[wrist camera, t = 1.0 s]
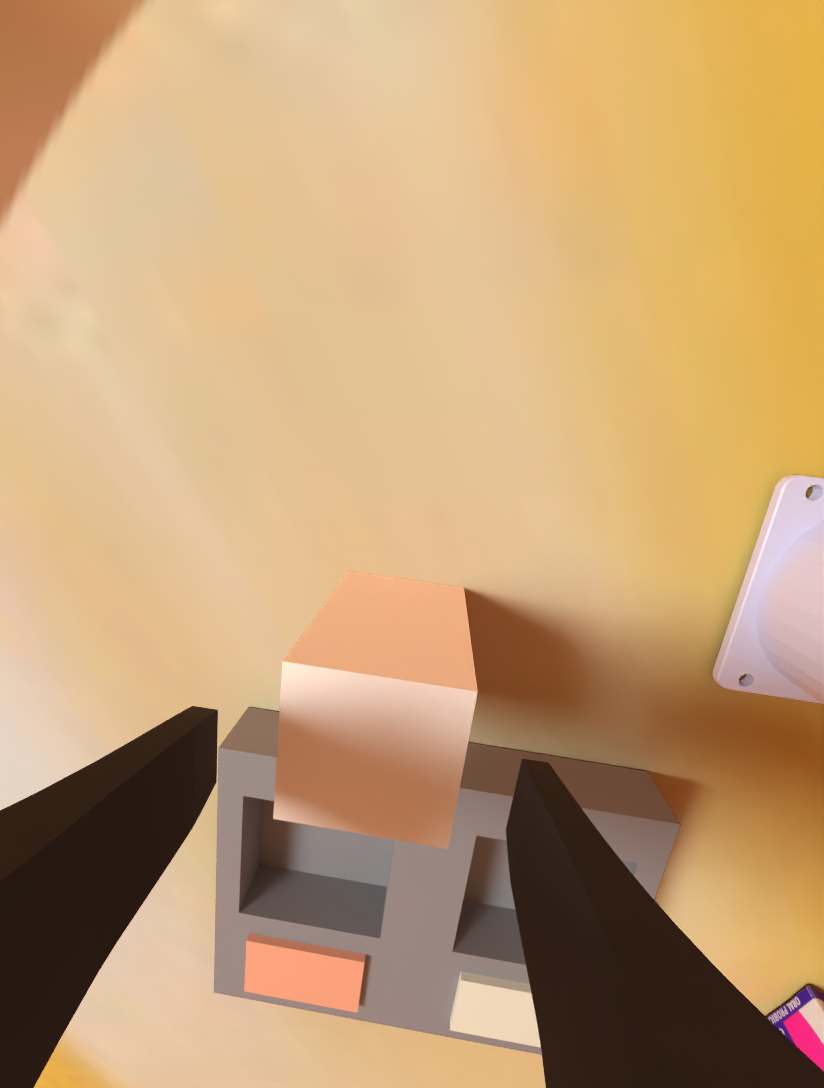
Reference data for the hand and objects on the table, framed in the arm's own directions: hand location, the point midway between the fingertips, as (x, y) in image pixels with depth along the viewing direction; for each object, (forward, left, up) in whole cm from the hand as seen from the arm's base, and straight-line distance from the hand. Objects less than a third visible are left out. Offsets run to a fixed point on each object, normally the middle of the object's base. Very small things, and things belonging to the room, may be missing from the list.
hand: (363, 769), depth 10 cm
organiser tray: (-3, +11, -7) cm, 13 cm away
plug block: (0, 0, -7) cm, 7 cm away
